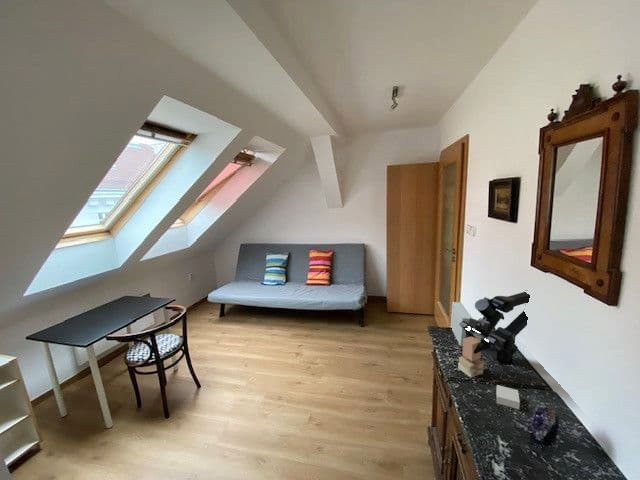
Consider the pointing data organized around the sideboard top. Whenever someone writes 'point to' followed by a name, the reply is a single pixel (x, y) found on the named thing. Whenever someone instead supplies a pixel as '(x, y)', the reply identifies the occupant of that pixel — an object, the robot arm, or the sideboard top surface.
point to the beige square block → (471, 364)
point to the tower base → (470, 374)
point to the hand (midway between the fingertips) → (469, 350)
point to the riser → (507, 397)
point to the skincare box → (459, 320)
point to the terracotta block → (471, 348)
